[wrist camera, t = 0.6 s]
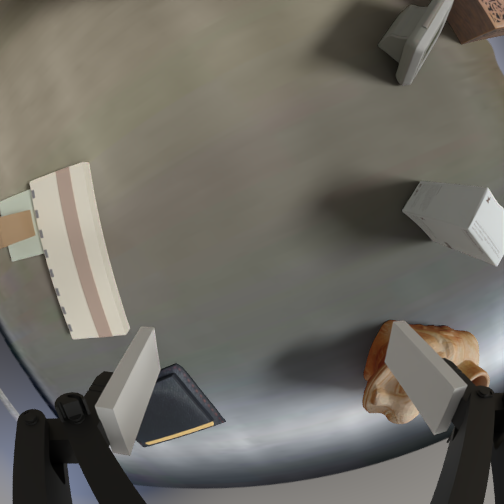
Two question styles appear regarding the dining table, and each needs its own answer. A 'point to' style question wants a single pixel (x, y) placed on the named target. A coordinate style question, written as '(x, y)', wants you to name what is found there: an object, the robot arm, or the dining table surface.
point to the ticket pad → (77, 253)
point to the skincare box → (459, 218)
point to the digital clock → (414, 37)
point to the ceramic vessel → (388, 388)
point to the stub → (20, 227)
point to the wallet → (176, 408)
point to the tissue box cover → (476, 19)
